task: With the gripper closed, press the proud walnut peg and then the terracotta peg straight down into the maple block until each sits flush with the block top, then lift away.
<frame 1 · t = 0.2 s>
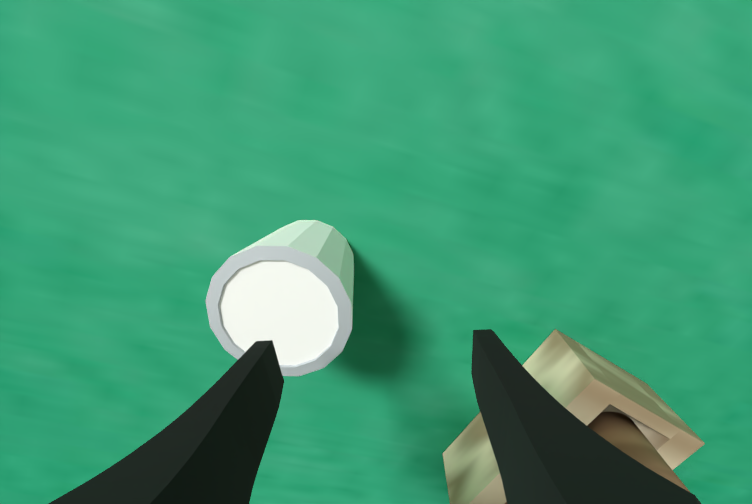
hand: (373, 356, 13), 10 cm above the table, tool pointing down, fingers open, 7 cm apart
maple block: (539, 420, 27), on the table
walnut peg: (629, 472, 19), point 7 cm above the table, slide at 0.0 cm
white cup: (311, 261, 24), on the table
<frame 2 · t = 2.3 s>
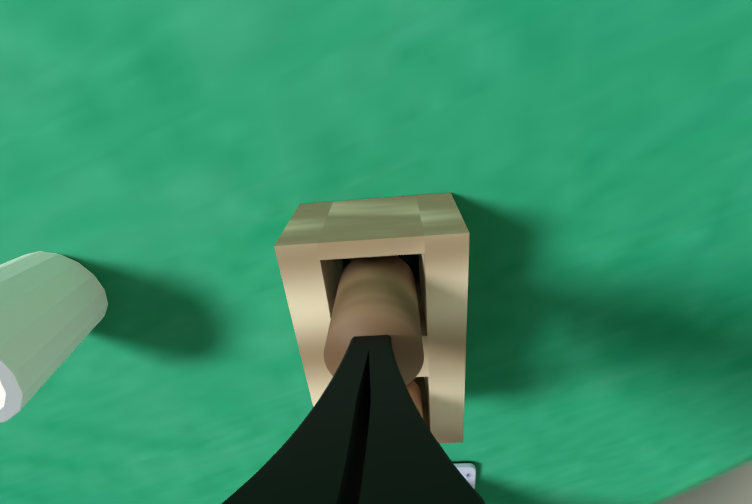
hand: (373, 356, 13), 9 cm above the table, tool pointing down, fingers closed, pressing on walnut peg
maple block: (384, 299, 22), on the table
walnut peg: (375, 316, 15), point 6 cm above the table, slide at 0.4 cm, touching gripper
terracotta peg: (388, 435, 18), point 7 cm above the table, slide at 0.0 cm
white cup: (63, 289, 23), on the table
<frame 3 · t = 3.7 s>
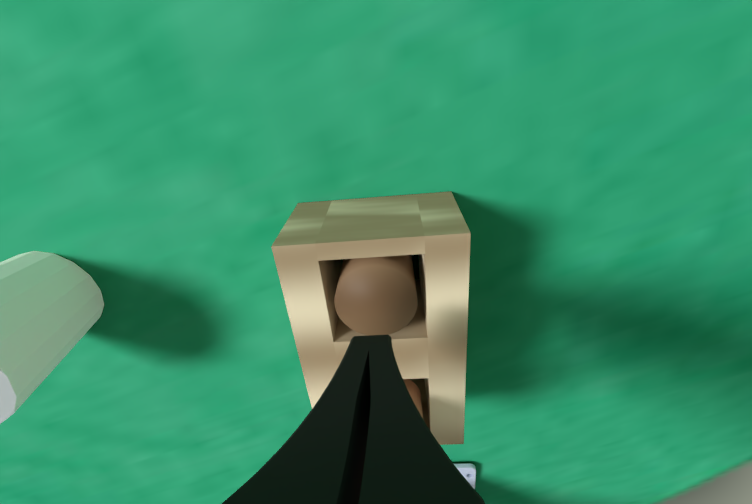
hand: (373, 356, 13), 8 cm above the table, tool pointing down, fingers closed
maple block: (383, 299, 22), on the table
walnut peg: (377, 274, 18), point 3 cm above the table, slide at 3.8 cm
terracotta peg: (387, 437, 18), point 7 cm above the table, slide at 0.0 cm
white cup: (59, 289, 23), on the table
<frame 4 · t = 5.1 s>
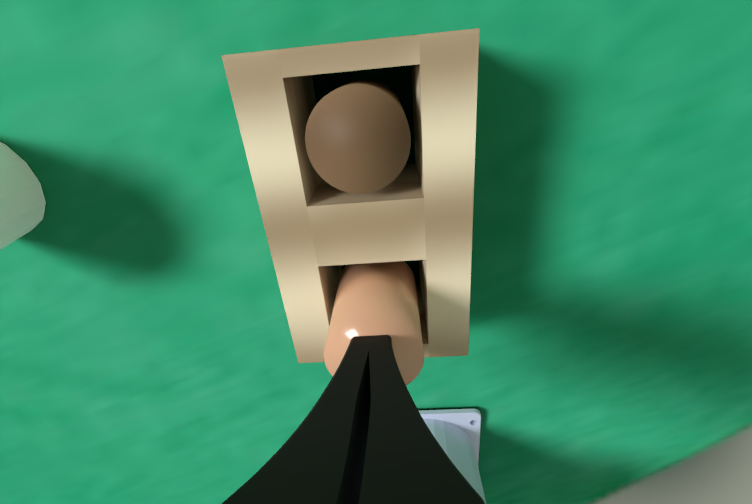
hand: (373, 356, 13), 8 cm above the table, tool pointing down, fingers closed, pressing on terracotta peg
maple block: (373, 192, 19), on the table
walnut peg: (362, 130, 15), point 3 cm above the table, slide at 3.8 cm
terracotta peg: (375, 316, 15), point 6 cm above the table, slide at 1.0 cm, touching gripper
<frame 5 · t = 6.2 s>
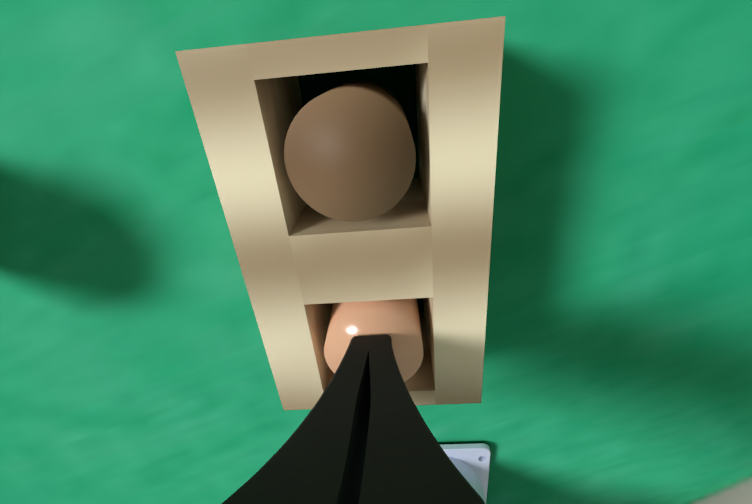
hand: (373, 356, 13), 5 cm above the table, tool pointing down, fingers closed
maple block: (370, 210, 16), on the table
walnut peg: (356, 143, 12), point 3 cm above the table, slide at 3.8 cm
terracotta peg: (375, 313, 15), point 3 cm above the table, slide at 3.8 cm
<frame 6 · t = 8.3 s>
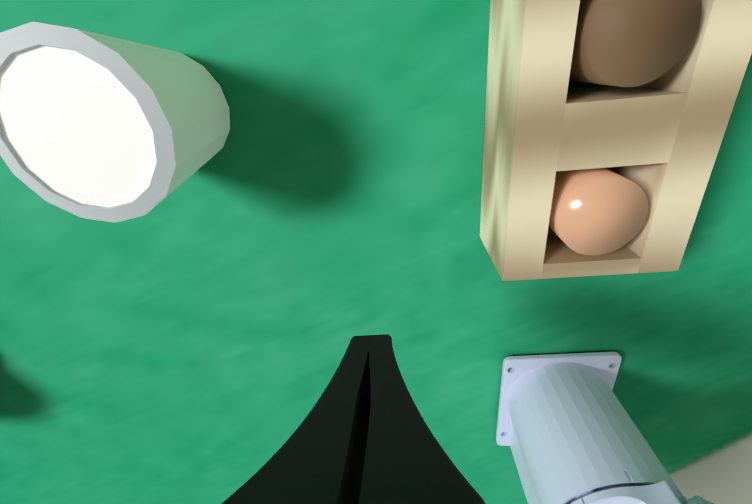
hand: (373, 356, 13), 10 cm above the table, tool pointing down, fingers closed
maple block: (564, 116, 19), on the table
walnut peg: (606, 33, 15), point 3 cm above the table, slide at 3.8 cm
terracotta peg: (577, 199, 18), point 3 cm above the table, slide at 3.8 cm
white cup: (178, 110, 19), on the table
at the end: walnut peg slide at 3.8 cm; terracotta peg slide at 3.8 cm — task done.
